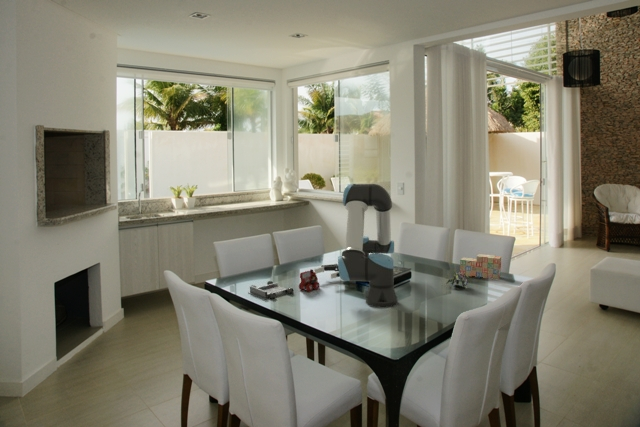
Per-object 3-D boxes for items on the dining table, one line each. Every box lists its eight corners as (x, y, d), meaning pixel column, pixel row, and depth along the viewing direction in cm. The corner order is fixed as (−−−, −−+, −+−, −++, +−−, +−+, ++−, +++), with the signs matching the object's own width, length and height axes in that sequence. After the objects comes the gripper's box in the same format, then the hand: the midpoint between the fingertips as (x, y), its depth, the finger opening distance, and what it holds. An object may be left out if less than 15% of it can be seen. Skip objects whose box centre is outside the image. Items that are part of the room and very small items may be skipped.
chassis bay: (295, 292, 243) (295, 286, 242) (267, 300, 231) (266, 293, 231) (273, 285, 258) (273, 278, 257) (245, 292, 246) (245, 285, 245)
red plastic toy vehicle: (322, 288, 251) (321, 269, 249) (306, 293, 242) (305, 274, 240) (312, 285, 255) (312, 267, 254) (296, 291, 246) (296, 271, 245)
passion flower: (464, 298, 245) (471, 284, 237) (444, 294, 246) (450, 280, 238) (463, 281, 253) (470, 267, 245) (443, 278, 254) (449, 263, 246)
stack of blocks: (459, 275, 270) (460, 254, 268) (462, 272, 275) (463, 252, 274) (498, 280, 259) (499, 258, 257) (500, 277, 264) (501, 256, 262)
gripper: (366, 277, 259) (338, 285, 245) (336, 268, 278) (308, 275, 264) (366, 263, 258) (338, 271, 244) (335, 256, 277) (308, 262, 263)
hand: (322, 273), depth 254 cm, fingers open, 13 cm apart
